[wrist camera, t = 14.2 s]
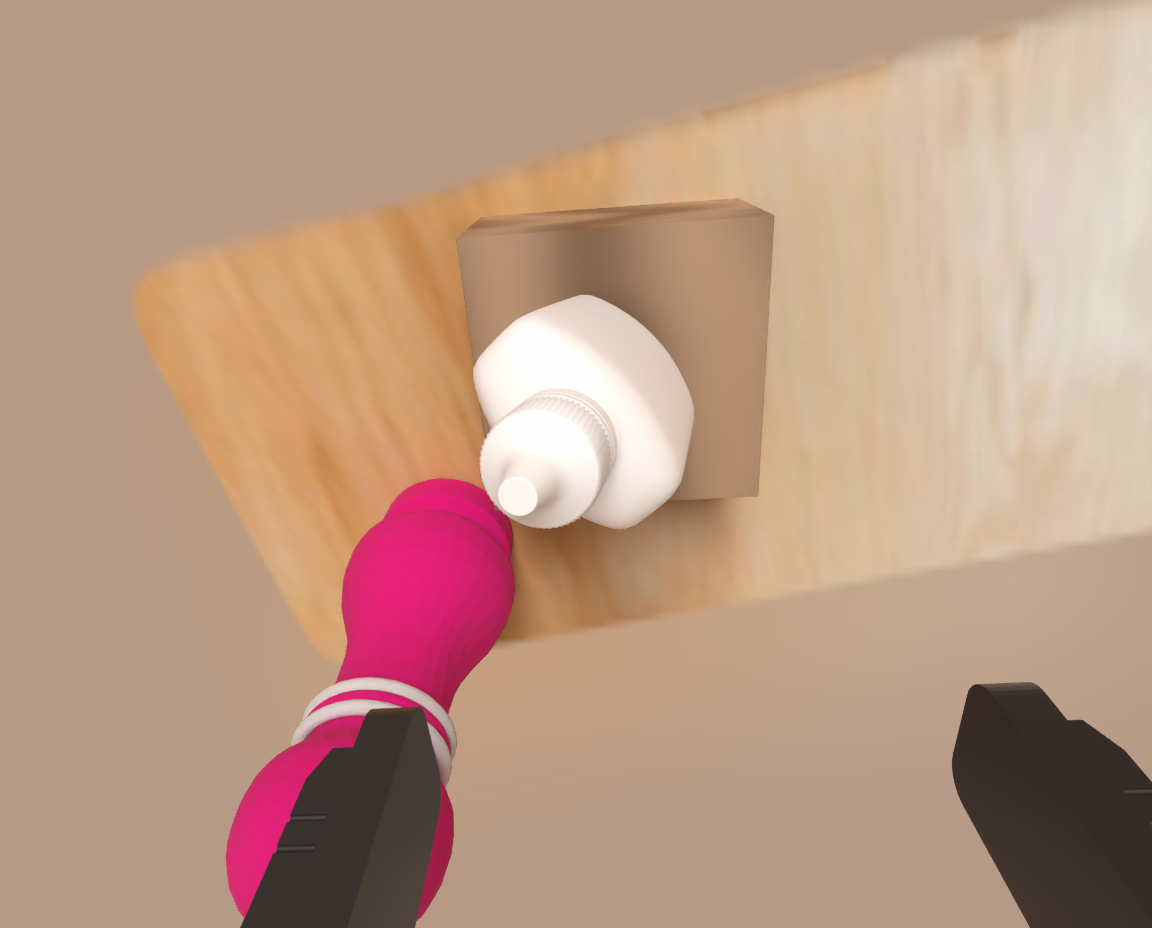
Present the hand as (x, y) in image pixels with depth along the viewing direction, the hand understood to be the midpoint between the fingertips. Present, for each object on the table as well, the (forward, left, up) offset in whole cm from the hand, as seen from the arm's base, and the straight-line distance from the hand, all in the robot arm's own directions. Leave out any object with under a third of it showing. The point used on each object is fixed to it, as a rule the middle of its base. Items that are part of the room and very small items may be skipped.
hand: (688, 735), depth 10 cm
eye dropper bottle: (0, -1, -15) cm, 15 cm away
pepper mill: (+9, +9, -21) cm, 24 cm away
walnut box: (0, 0, -21) cm, 21 cm away
